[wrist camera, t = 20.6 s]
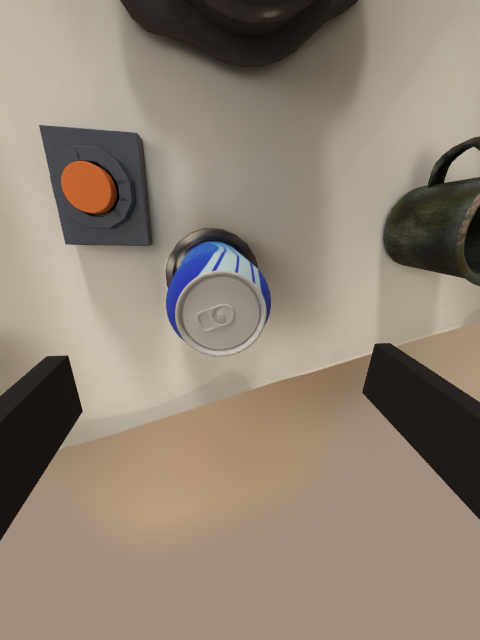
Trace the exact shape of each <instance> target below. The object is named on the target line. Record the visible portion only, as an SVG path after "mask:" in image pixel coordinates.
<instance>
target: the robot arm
mask: <svg viewBox="0 0 480 640" xmlns="http://www.w3.org/2000/svg"><path fill="white" fill-rule="evenodd" d="M363 394H364V395H365V396H366V397H367V398H368V399H369V400H370V401H371V402H372V404H374V405H375V407H376V408H377V409H378V410H379V411H380V412H381V413H382V414H383V415H384V417H385V418H387V420H388V421H389V422H390V423H391V424H392V425H393V426H394V427H395V428H396V429H397V431H398V432H399V433H400V434H401V435H402V436H403V437H404V438H405V439H406V440H407V441H408V443H409V444H410V445H411V446H412V447H413V448H414V449H415V450H416V451H417V452H418V453H419V454H420V456H421V457H422V458H423V459H424V460H425V461H426V462H427V463H428V464H429V465H430V466H431V467H432V469H434V471H435V472H436V473H437V474H438V475H439V476H440V477H441V478H442V479H443V480H444V481H445V483H446V484H447V485H448V486H449V487H450V488H451V489H452V490H453V491H454V492H455V493H456V494H457V496H458V497H459V498H460V499H461V500H462V501H463V502H464V503H465V504H466V505H467V506H468V507H469V509H470V510H471V511H472V512H473V513H474V514H475V515H476V516H477V517H478V518H479V519H480V402H478V401H477V400H476V399H474V398H473V397H471V396H469V395H468V394H466V393H465V392H463V391H462V390H460V389H459V388H457V387H456V386H454V385H453V384H451V383H450V382H448V381H447V380H445V379H444V378H442V377H441V376H439V375H438V374H436V373H434V372H433V371H431V370H430V369H428V368H427V367H425V366H424V365H422V364H421V363H419V362H418V361H416V360H415V359H413V358H411V357H410V356H409V355H407V354H406V353H404V352H402V351H401V350H399V349H398V348H396V347H395V346H393V345H392V344H390V343H382V344H375V346H374V349H373V353H372V357H371V361H370V365H369V368H368V372H367V376H366V380H365V384H364V388H363ZM82 412H83V411H82V407H81V403H80V399H79V395H78V392H77V388H76V384H75V380H74V376H73V372H72V369H71V365H70V361H69V357H68V356H47V357H45V358H44V359H43V360H42V361H41V362H40V363H38V364H37V365H36V366H35V367H34V368H33V369H31V370H30V371H29V372H28V373H27V374H26V375H24V376H23V377H22V378H21V379H20V380H19V381H18V382H16V383H15V384H14V385H13V386H12V387H11V388H9V389H8V390H7V391H6V392H5V393H4V394H2V395H1V396H0V540H1V539H2V537H3V536H4V534H5V533H6V531H7V529H8V528H9V526H10V525H11V523H12V521H13V520H14V518H15V517H16V515H17V514H18V512H19V511H20V509H21V507H22V506H23V504H24V503H25V501H26V500H27V498H28V496H29V495H30V493H31V492H32V490H33V488H34V487H35V485H36V484H37V482H38V481H39V479H40V478H41V476H42V474H43V473H44V471H45V469H46V468H47V467H48V465H49V463H50V462H51V460H52V459H53V457H54V456H55V454H56V452H57V451H58V449H59V448H60V446H61V445H62V443H63V441H64V440H65V438H66V437H67V435H68V434H69V432H70V430H71V429H72V427H73V426H74V424H75V423H76V421H77V419H78V418H79V416H80V415H81V413H82Z"/></svg>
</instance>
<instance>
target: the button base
mask: <svg viewBox="0 0 480 640" xmlns="http://www.w3.org/2000/svg"><path fill="white" fill-rule="evenodd" d="M39 127H40V131H41V136H42V140H43V145H44V149H45V154H46V158H47V163H48V167H49V172H50V178H51V183H52V187H53V192H54V196H55V199H56V203H57V208H58V212H59V217H60V221H61V226H62V230H63V235H64V239H65V244H73V245H127V246H149V245H151V244H152V237H151V227H150V217H149V206H148V196H147V186H146V175H145V165H144V155H143V145H142V139H141V138H140V136H139V135H138V134H137V133H131V132H119V131H106V130H94V129H81V128H69V127H56V126H44V125H39ZM76 161H86V162H89V163H92V164H94V165H96V166H98V167H100V168H101V169H103V170H104V171H106V172H107V173H108V174H109V175H110V177H111V178H112V180H113V181H114V184H115V186H116V190H117V198H116V202H115V204H114V206H113V207H112V208H111V209H110V210H109V211H107V212H105V213H99V214H97V213H87V212H83V211H81V210H79V209H77V208H76V207H74V206H73V205H72V204H71V203H70V202H69V201H68V199H67V198H66V196H65V195H64V192H63V190H62V186H61V176H62V173H63V171H64V169H65V168H66V167H67V166H68V165H69V164H71V163H73V162H76Z"/></svg>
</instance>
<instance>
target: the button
mask: <svg viewBox="0 0 480 640" xmlns="http://www.w3.org/2000/svg"><path fill="white" fill-rule="evenodd" d="M61 186H62V190H63V192H64V195H65V196H66V198H67V199H68V201H69V202H70V203H71V204H72V205H73V206H74V207H76V208H77V209H79V210H81V211H83V212H87V213H97V214H99V213H105V212H107V211H109V210H110V209H111V208H112V207H113V206H114V204H115V202H116V198H117V190H116V186H115V184H114V181H113V180H112V178H111V177H110V175H109V174H108V173H107V172H106V171H104V170H103V169H101V168H100V167H98V166H96V165H94V164H92V163H89V162H86V161H76V162H73V163H71V164H69V165H68V166H67V167H66V168H65V169H64V171H63V173H62V176H61Z"/></svg>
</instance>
